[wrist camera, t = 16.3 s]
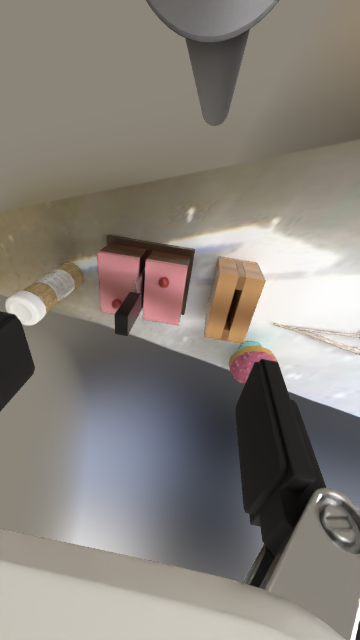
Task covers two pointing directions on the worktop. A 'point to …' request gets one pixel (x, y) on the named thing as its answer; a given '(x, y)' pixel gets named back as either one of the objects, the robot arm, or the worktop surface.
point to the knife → (130, 307)
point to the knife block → (233, 299)
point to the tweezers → (340, 345)
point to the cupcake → (248, 359)
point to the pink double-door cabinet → (160, 276)
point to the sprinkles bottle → (44, 294)
